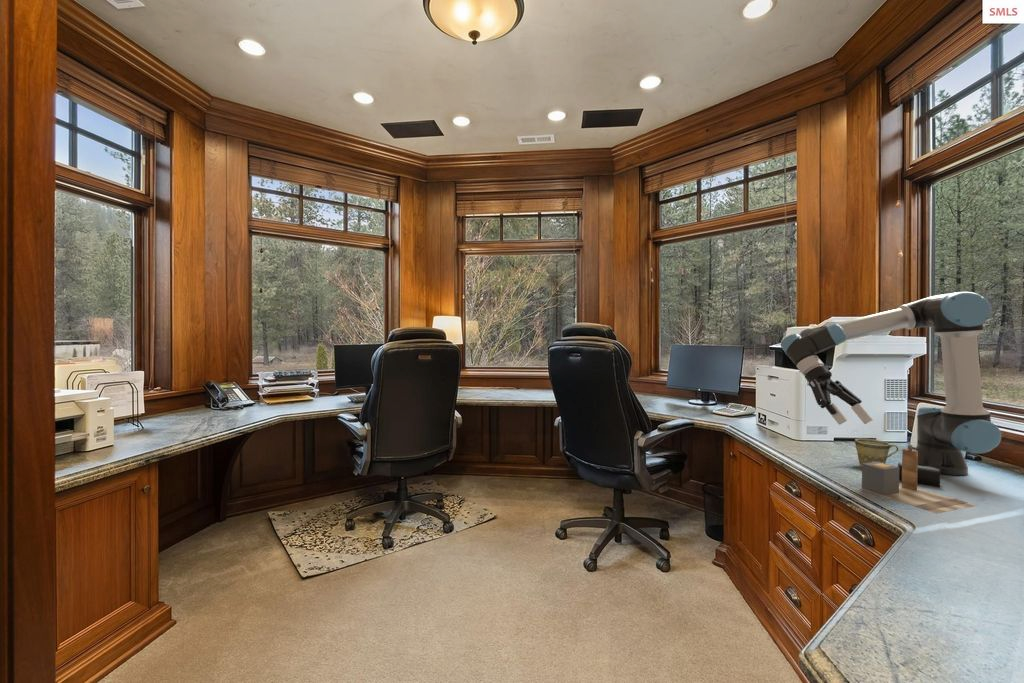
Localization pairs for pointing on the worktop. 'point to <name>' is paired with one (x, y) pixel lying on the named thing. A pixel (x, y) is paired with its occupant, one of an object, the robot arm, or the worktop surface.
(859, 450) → the ceramic cup
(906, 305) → the robot arm
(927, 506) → the birch board
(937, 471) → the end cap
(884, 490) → the grey box with label
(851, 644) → the worktop surface
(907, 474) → the wooden tool handle
